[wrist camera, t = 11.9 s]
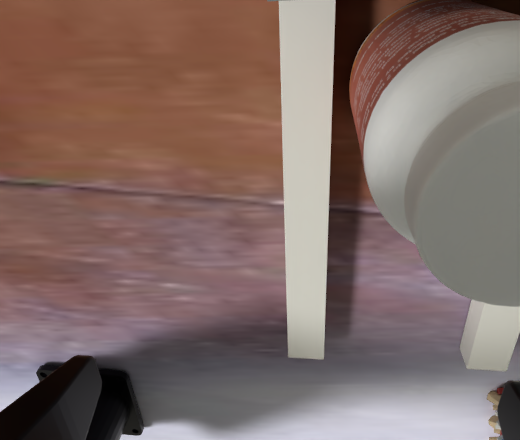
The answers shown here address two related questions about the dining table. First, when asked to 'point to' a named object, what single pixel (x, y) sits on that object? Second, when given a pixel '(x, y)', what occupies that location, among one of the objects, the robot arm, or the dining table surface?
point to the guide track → (317, 194)
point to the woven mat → (494, 421)
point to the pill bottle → (446, 139)
